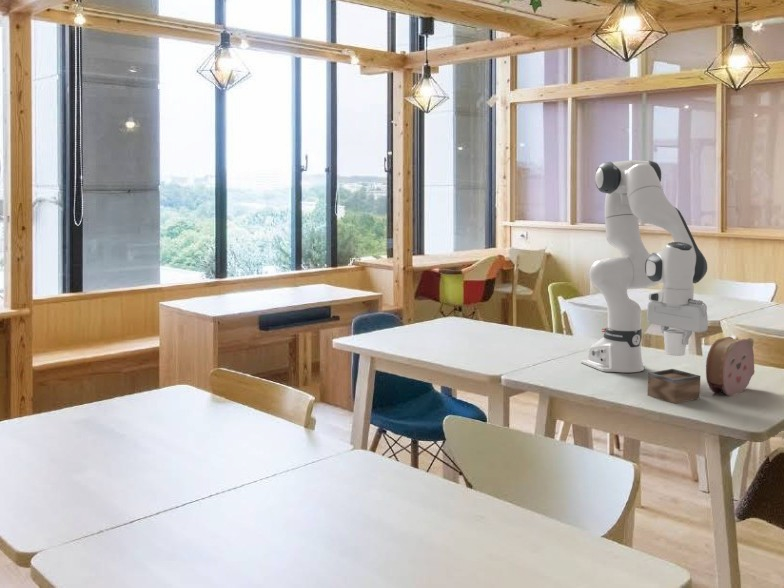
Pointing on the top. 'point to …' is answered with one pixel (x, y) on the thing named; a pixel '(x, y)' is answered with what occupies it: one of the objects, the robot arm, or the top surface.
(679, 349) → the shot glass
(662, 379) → the wooden box
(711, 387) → the face sculpture
